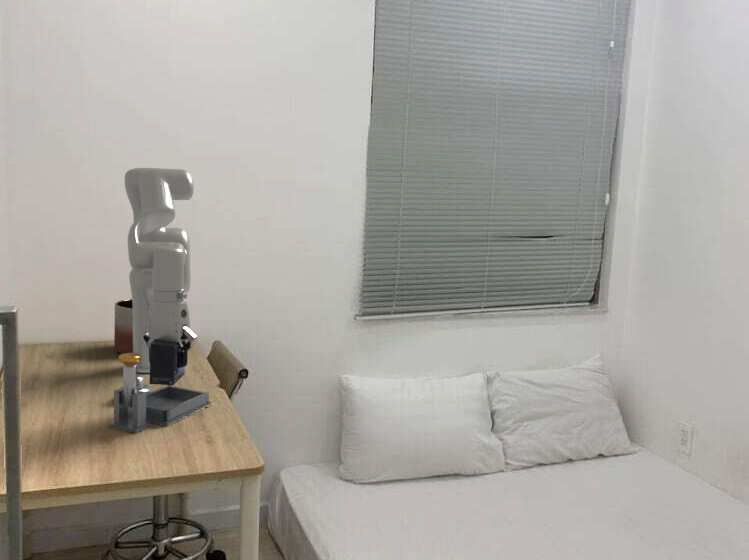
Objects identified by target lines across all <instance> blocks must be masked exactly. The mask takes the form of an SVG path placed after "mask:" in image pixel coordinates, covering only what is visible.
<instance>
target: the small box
mask: <svg viewBox="0 0 749 560" xmlns="http://www.w3.org/2000/svg"><path fill="white" fill-rule="evenodd" d="M181 344H182V343H181ZM182 346H183V345H182ZM177 352H179V350H178V348H177V343H174V342H169V341H163V340H155V341H153V342H152V343H150V373H149V381H148V382H149V385H161V386H163V385H164V386H167V385H171V386H175V384H176V383H178V381H179V380H180V379H181V378H182V377H183V376H184V375H185V371H186V369H185V368H186V366H184V367H182V368H178V367H177Z"/></svg>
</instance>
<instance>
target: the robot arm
mask: <svg viewBox="0 0 749 560" xmlns="http://www.w3.org/2000/svg"><path fill="white" fill-rule="evenodd" d="M194 185H195V184H194V180H193V177H192V175H191V173H190V171H188V170H186V169H179V168H160V167H159V168H157V167H137V168H132V169H128V170H127V171H126V172H125V174H124V188H125V192H126V196H127V198H128V201H129V204H130V206H131V209H132V212H133V213H132V215H133V223H132V224H131V226H130V228H129V231H128V233H127V234H128V235H127V251H128V259H129V260H128V261H129V265H130V267H131V270H130V272H129V275H128V276H129V278H128V279H129V286H130V292H131V299H132V304H133V353H137V354H140V355H141V360H140V361H139V362H137V374H138V373H140V374H143V373H144V374H150V343H152V342H153V341H155V340H163V341H169V342H174V343H177V348H178V350H179V352H177V367H178V368H182V367H184V366H185V367H186V366H187V365H188V351H190V349H191V348H192V347H193V346H194V344H195V342H196V341H197V339H198V337H197V334H195V333H194V332H193V331H192V330H191V324H190V320H191V319H190V311H189V308H188V303H187V302H186V301H184V300H186V299H187V298H188V295H187V294H188V293H189V291H190V289H191V246H190V245H191V243H190V239H189V237H190V236H189V234H188V233H187V231H186V230H185V229H184V228H180V227H167V226H169V225H170V224H171V223H173V222H174V220H175V218H176V210H175V209H176V208H175V204H174V201H189V200H190V199H191V198H193V196H194V195H193V194H194V189H195V188H194V187H195V186H194ZM181 343H182V344H181ZM182 345H183V346H182Z"/></svg>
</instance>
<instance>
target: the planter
mask: <svg viewBox="0 0 749 560" xmlns="http://www.w3.org/2000/svg"><path fill="white" fill-rule="evenodd" d="M113 338H114V341H113V342H114V350H115V351H116V352H118V353H120V355H121V354H124V353H133V304H132V298H129V299H122V300H119V301H116V302H114V337H113Z"/></svg>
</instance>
